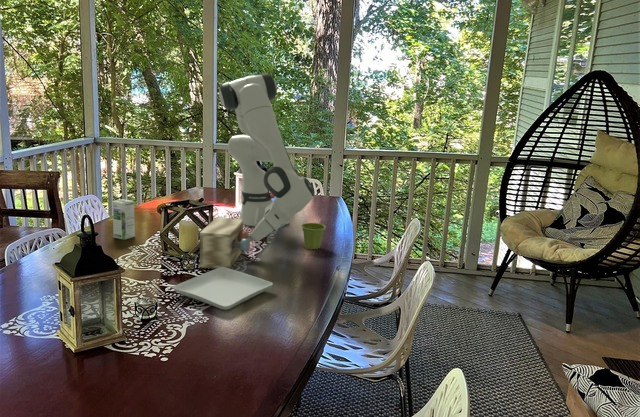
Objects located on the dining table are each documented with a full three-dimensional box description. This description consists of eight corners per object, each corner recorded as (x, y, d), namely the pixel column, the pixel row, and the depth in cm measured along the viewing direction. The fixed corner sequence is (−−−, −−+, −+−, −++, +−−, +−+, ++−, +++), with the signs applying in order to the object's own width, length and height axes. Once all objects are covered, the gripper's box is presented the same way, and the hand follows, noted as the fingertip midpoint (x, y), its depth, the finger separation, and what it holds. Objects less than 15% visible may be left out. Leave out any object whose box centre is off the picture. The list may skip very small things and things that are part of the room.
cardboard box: (199, 267, 162) (199, 232, 159) (216, 248, 182) (216, 217, 179) (229, 269, 162) (229, 234, 159) (242, 250, 181) (243, 219, 178)
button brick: (227, 243, 173) (227, 231, 172) (230, 240, 177) (230, 228, 176) (245, 245, 172) (246, 233, 171) (248, 241, 177) (248, 229, 176)
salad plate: (226, 317, 129) (226, 305, 128) (170, 296, 139) (170, 285, 139) (274, 292, 146) (275, 282, 145) (222, 275, 157) (222, 265, 156)
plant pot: (327, 246, 192) (329, 224, 190) (319, 252, 184) (321, 230, 182) (305, 242, 195) (306, 221, 193) (296, 249, 187) (297, 227, 185)
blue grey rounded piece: (227, 252, 164) (227, 239, 163) (230, 248, 168) (231, 235, 167) (247, 253, 164) (247, 241, 163) (250, 249, 168) (250, 237, 167)
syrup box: (113, 237, 187) (111, 201, 184) (125, 234, 193) (123, 198, 189) (123, 240, 185) (122, 203, 182) (135, 236, 190) (134, 200, 187)
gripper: (275, 201, 181) (249, 225, 184) (265, 215, 161) (236, 241, 164) (287, 214, 182) (260, 237, 185) (278, 228, 162) (249, 254, 165)
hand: (249, 239), depth 174 cm, fingers closed, pressing on button brick
